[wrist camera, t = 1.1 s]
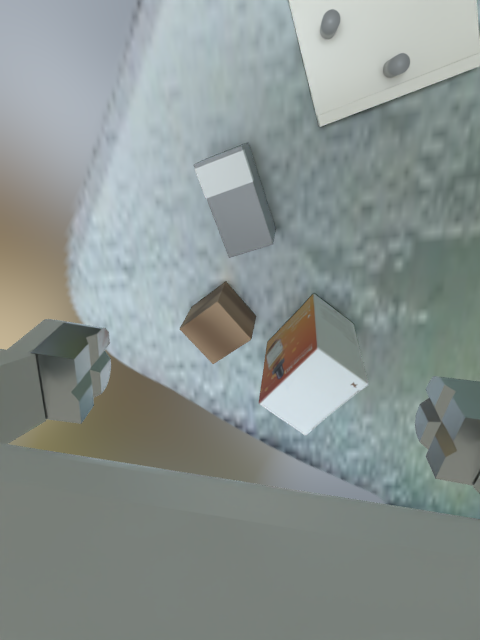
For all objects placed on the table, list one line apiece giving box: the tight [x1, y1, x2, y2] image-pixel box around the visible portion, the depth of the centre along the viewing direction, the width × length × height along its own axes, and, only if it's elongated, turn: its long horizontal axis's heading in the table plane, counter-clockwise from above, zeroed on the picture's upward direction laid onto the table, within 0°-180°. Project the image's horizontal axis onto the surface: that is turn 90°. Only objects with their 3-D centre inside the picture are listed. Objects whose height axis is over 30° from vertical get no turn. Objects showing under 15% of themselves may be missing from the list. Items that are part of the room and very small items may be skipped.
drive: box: [194, 143, 276, 258], centre depth 34 cm, size 4×8×5 cm, turn 20°
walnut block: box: [180, 282, 256, 364], centre depth 40 cm, size 5×5×5 cm
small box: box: [259, 294, 369, 435], centre depth 37 cm, size 8×6×10 cm
